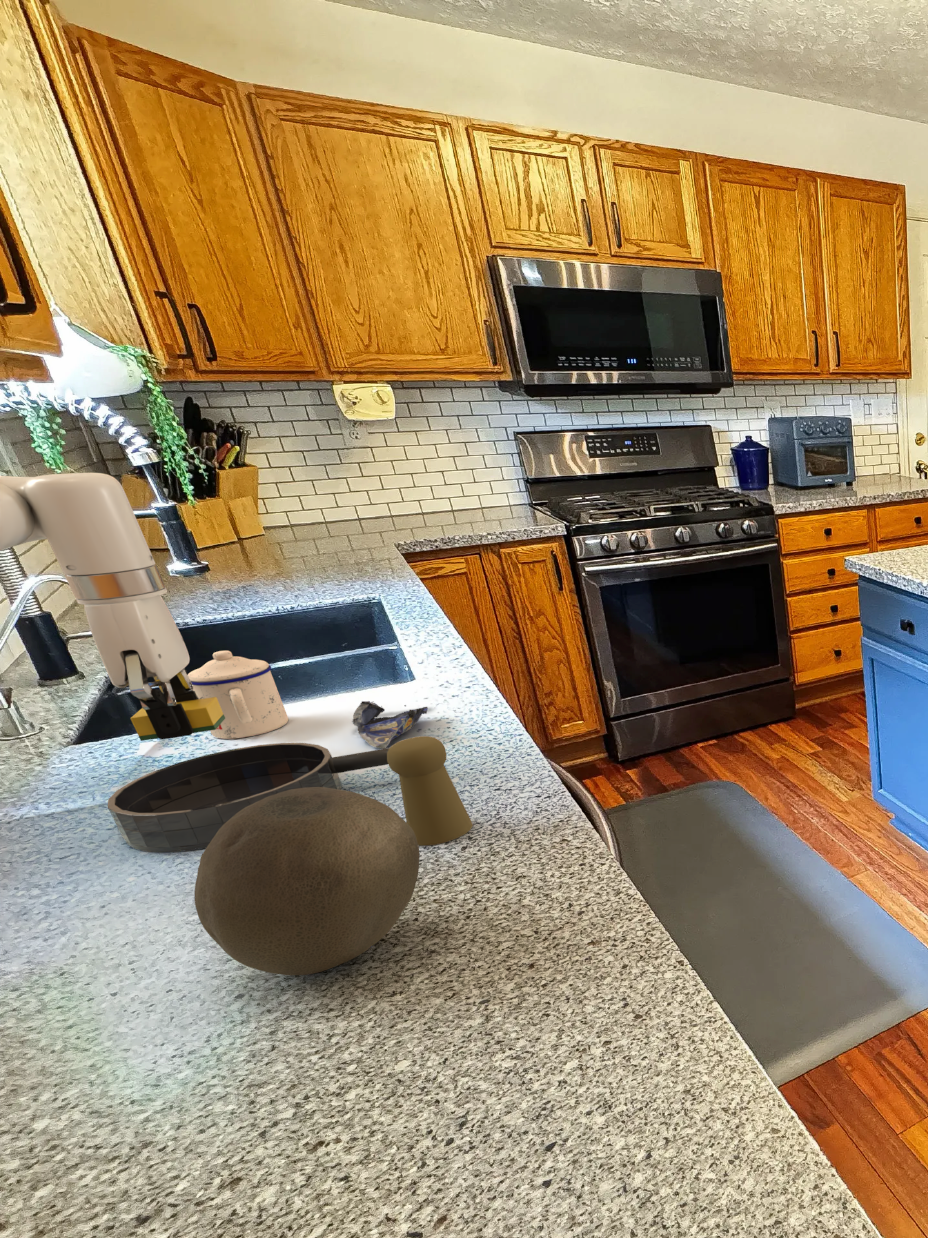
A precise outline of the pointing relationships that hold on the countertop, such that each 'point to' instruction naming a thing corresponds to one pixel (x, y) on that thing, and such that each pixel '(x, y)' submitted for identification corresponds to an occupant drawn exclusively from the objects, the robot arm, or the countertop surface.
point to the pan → (212, 793)
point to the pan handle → (358, 761)
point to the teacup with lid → (240, 695)
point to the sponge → (198, 711)
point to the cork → (428, 791)
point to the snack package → (383, 723)
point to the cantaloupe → (306, 879)
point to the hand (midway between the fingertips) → (183, 728)
